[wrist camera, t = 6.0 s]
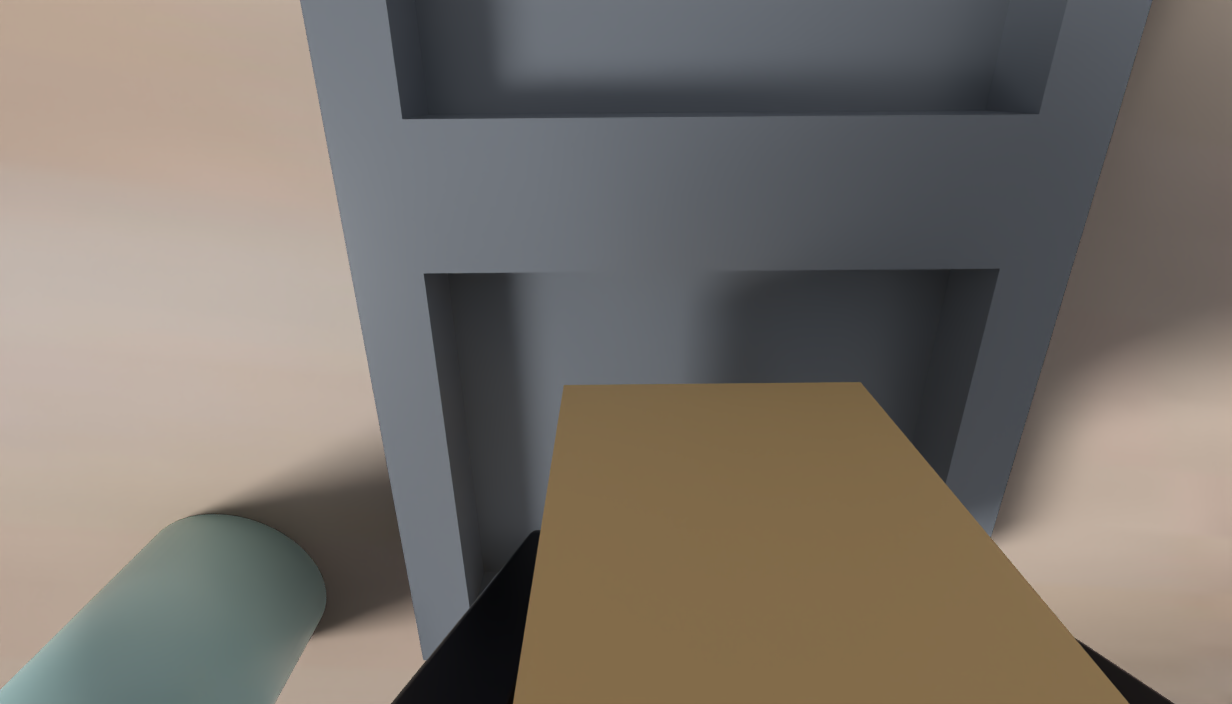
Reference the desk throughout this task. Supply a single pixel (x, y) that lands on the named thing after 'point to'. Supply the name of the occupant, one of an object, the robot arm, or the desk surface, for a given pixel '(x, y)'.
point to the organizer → (700, 223)
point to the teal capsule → (186, 623)
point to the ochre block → (773, 562)
